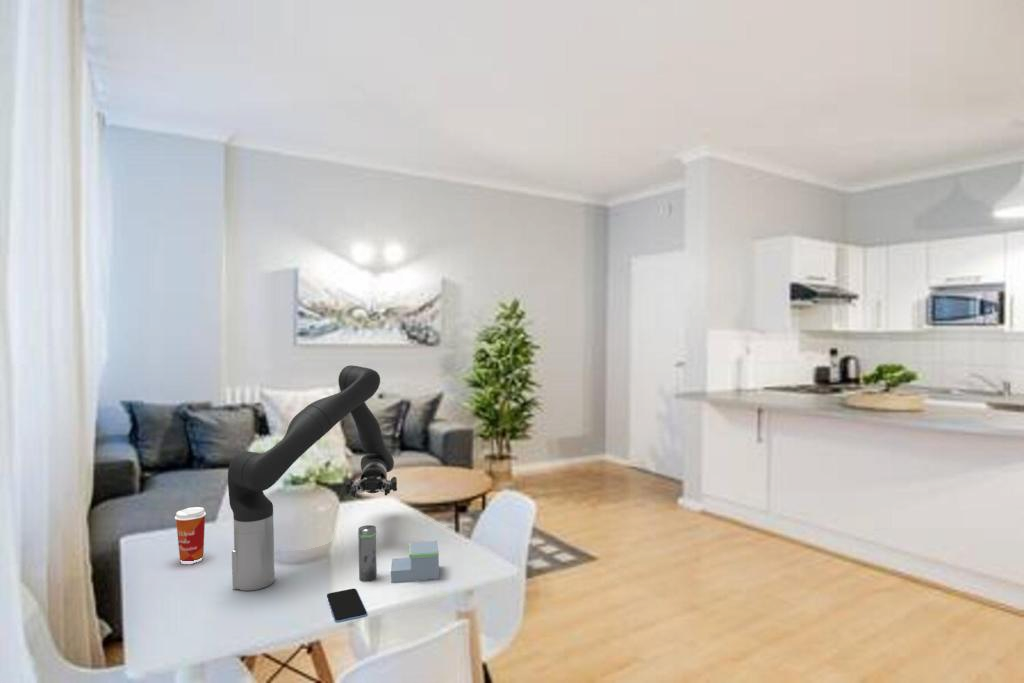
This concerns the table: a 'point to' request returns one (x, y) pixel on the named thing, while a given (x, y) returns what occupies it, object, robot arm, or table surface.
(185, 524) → the paper cup
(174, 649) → the table surface
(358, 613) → the smartphone
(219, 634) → the table surface
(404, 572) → the blue-grey stepped block
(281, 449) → the robot arm
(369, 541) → the steel thermos flask
